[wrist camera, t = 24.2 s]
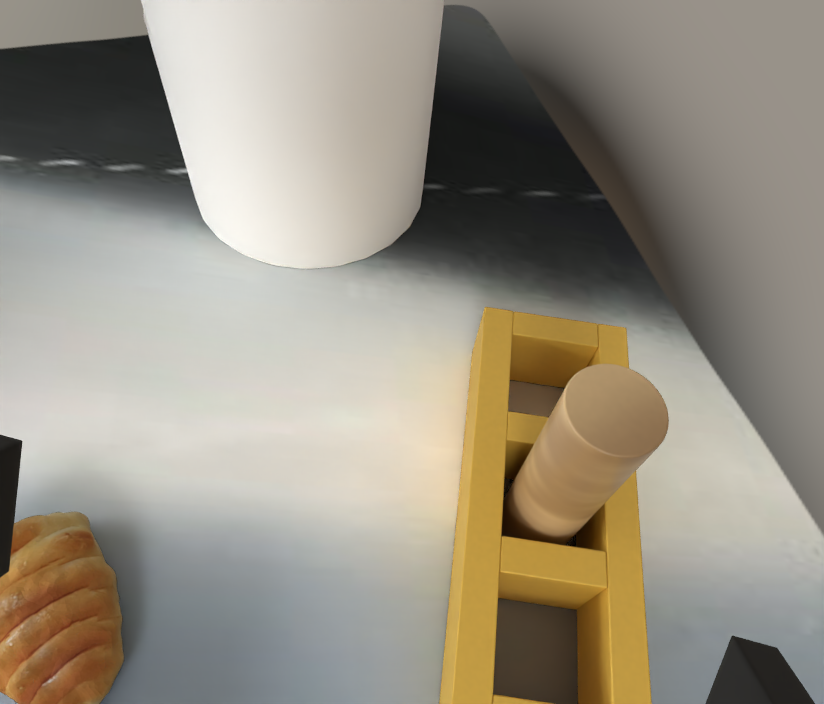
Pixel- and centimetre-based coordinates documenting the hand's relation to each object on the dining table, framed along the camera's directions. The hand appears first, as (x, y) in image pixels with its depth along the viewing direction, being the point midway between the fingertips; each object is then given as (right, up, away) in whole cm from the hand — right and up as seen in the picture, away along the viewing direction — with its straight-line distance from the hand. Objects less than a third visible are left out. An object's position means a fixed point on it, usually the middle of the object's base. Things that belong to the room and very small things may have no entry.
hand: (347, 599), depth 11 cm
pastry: (-16, -8, +20) cm, 27 cm away
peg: (+8, -5, +24) cm, 26 cm away
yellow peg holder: (+8, -5, +24) cm, 26 cm away
